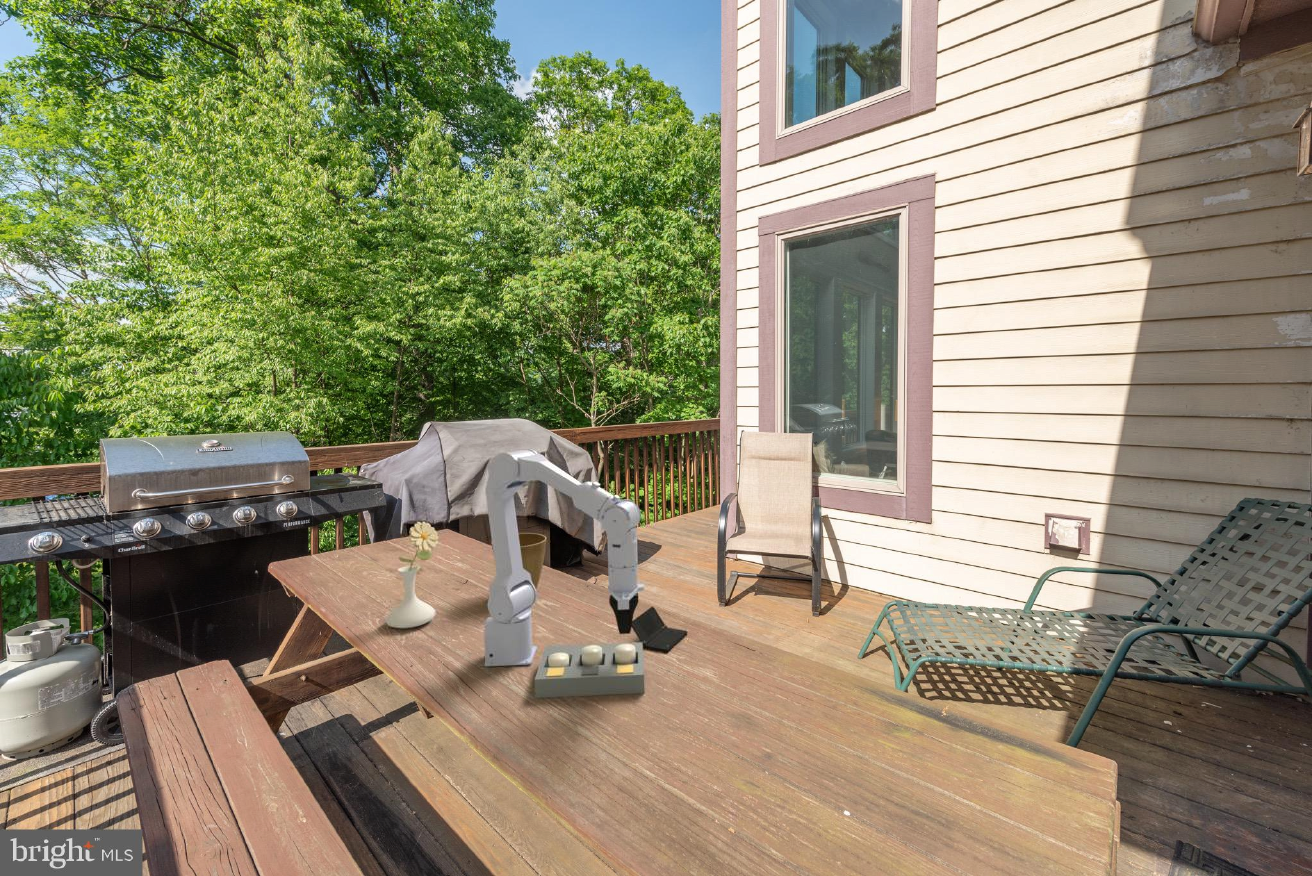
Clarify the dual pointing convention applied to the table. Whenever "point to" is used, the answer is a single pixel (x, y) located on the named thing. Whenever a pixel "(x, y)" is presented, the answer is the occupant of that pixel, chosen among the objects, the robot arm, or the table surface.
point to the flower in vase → (411, 607)
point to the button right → (625, 654)
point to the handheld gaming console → (656, 632)
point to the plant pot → (532, 554)
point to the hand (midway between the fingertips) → (624, 632)
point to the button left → (558, 660)
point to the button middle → (591, 655)
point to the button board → (589, 673)
